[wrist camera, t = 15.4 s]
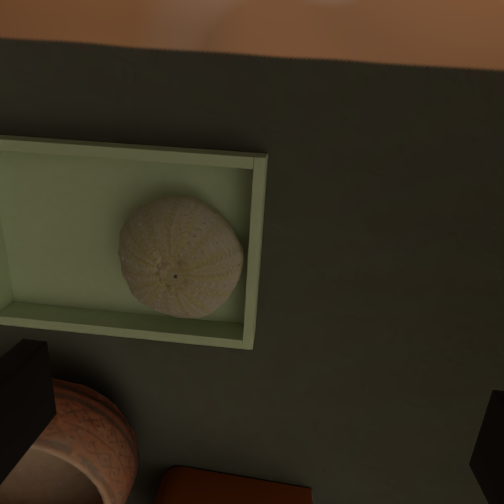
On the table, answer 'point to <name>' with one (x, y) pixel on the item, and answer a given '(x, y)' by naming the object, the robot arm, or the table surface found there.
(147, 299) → the sea urchin shell
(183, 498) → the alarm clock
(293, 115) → the table surface
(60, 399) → the bowl
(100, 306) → the tray
